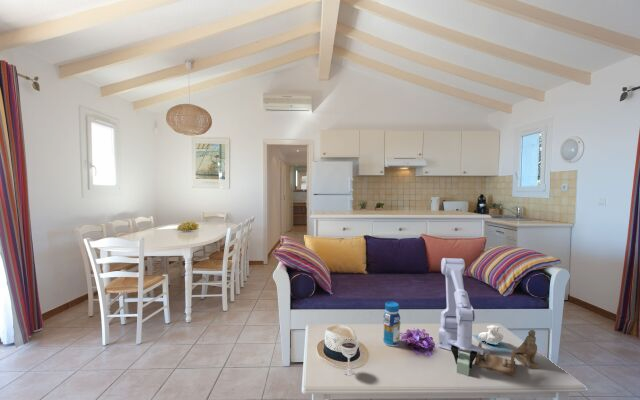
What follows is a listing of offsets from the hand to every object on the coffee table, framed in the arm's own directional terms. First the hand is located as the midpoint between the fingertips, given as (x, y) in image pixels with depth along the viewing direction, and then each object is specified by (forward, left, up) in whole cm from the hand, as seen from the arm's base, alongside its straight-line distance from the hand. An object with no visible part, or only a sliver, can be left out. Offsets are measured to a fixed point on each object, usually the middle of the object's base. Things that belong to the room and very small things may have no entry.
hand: (463, 365), depth 132 cm
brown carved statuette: (+22, +22, -2) cm, 31 cm away
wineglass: (-40, -31, -2) cm, 51 cm away
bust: (+8, +31, -2) cm, 32 cm away
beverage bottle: (-34, +3, -2) cm, 34 cm away
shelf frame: (+11, +11, -1) cm, 16 cm away
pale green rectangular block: (0, 0, -2) cm, 2 cm away
